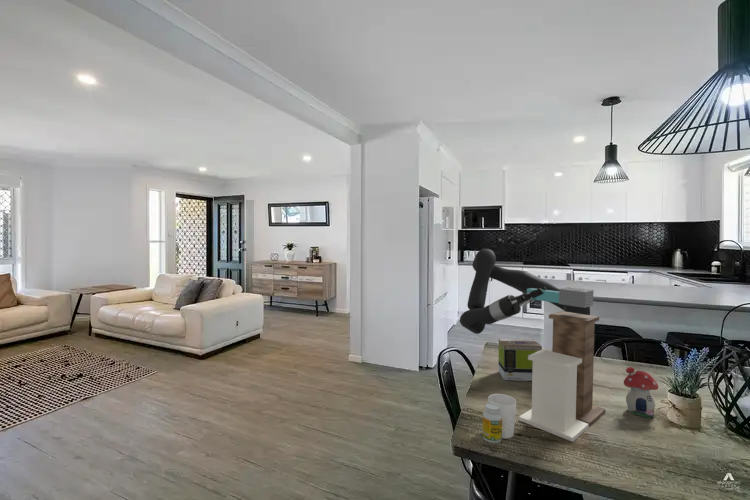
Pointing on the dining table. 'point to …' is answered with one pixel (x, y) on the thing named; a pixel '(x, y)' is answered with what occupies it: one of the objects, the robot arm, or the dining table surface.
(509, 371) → the tea box
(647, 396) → the decorative ornament
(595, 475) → the dining table surface
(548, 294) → the bar
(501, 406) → the white cup
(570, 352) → the tall walnut stand
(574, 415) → the low cream stand
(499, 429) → the supplement bottle
